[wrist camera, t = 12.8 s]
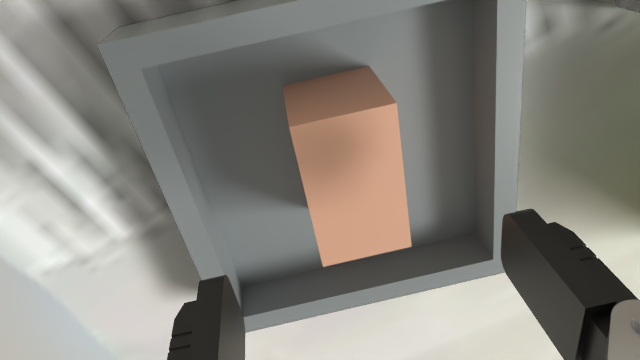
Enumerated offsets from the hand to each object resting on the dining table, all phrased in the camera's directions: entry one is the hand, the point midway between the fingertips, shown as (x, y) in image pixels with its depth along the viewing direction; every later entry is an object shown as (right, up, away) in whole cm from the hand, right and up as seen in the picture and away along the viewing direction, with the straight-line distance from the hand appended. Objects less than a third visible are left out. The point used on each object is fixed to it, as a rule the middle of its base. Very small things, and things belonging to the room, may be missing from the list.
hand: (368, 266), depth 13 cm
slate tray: (-1, +4, +7) cm, 8 cm away
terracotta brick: (-1, +4, +6) cm, 8 cm away
